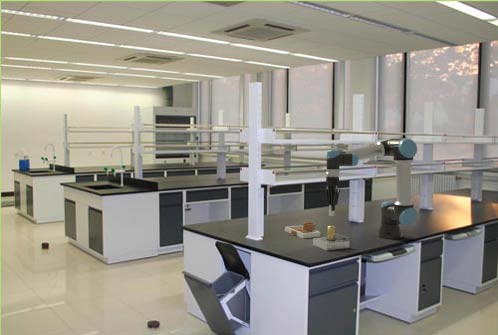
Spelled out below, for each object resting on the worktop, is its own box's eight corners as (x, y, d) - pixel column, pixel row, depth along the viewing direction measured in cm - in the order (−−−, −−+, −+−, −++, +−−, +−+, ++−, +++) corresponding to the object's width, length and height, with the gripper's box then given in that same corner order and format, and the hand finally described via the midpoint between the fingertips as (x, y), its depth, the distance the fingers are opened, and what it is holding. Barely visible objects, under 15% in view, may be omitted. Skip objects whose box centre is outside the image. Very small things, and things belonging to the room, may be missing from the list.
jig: (335, 242, 272) (335, 232, 272) (349, 247, 259) (349, 237, 259) (313, 244, 266) (313, 235, 265) (326, 250, 253) (326, 240, 252)
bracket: (309, 231, 304) (310, 222, 304) (317, 234, 297) (318, 224, 297) (288, 233, 295) (289, 223, 295) (296, 236, 288) (296, 225, 288)
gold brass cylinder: (331, 245, 265) (332, 225, 265) (336, 246, 261) (336, 226, 261) (325, 245, 264) (326, 225, 263) (329, 247, 260) (330, 227, 259)
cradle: (301, 229, 309) (301, 225, 309) (320, 236, 288) (320, 232, 288) (284, 231, 304) (285, 226, 304) (302, 238, 283) (302, 233, 282)
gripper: (321, 175, 264) (320, 214, 266) (333, 177, 252) (332, 218, 254) (331, 175, 267) (330, 213, 269) (344, 177, 255) (343, 217, 257)
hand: (331, 215), depth 261 cm, fingers closed
